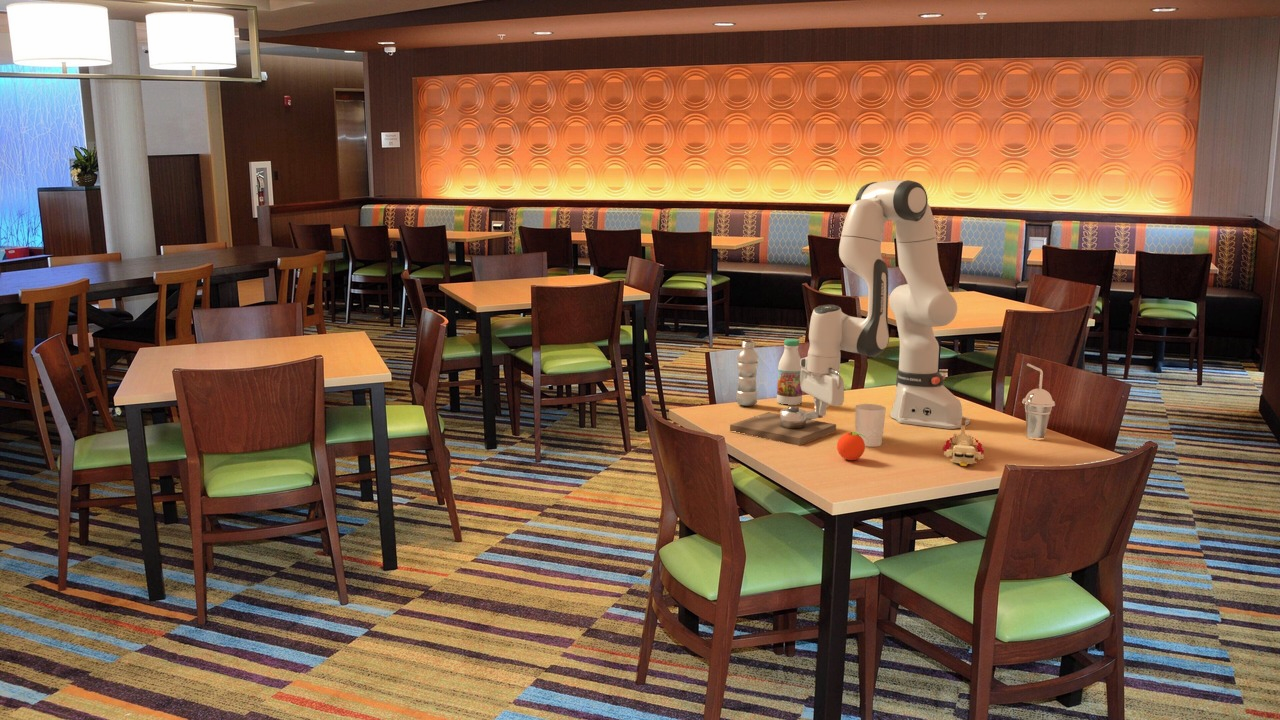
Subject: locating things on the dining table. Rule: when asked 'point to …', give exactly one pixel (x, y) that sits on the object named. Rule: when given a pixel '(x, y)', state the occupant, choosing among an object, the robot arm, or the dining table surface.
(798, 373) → the milk bottle
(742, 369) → the plastic bottle
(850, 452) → the clementine
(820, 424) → the walnut stand
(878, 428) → the white cup
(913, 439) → the dining table surface
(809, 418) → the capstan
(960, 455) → the blocky toy figure
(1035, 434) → the cup with straw
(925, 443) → the dining table surface
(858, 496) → the dining table surface
